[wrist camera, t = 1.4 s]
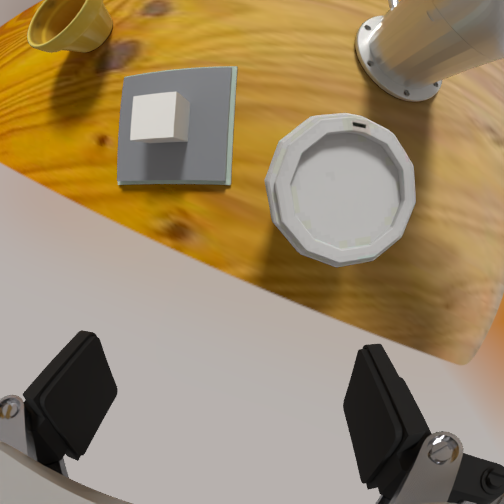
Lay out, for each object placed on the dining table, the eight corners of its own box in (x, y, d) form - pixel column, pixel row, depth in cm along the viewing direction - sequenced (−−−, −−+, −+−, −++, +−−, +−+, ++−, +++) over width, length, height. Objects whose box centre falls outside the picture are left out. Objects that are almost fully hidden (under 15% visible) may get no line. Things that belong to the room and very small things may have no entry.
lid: (127, 79, 26) (103, 66, 20) (232, 70, 26) (225, 49, 20) (121, 180, 30) (94, 184, 24) (226, 180, 30) (217, 183, 24)
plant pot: (121, 52, 25) (81, 25, 16) (63, 73, 26) (19, 60, 16) (129, -3, 22) (99, -34, 13) (73, 20, 23) (37, 0, 13)
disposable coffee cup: (351, 231, 31) (410, 281, 17) (260, 223, 31) (257, 270, 17) (361, 142, 28) (433, 128, 14) (267, 129, 28) (271, 94, 14)
